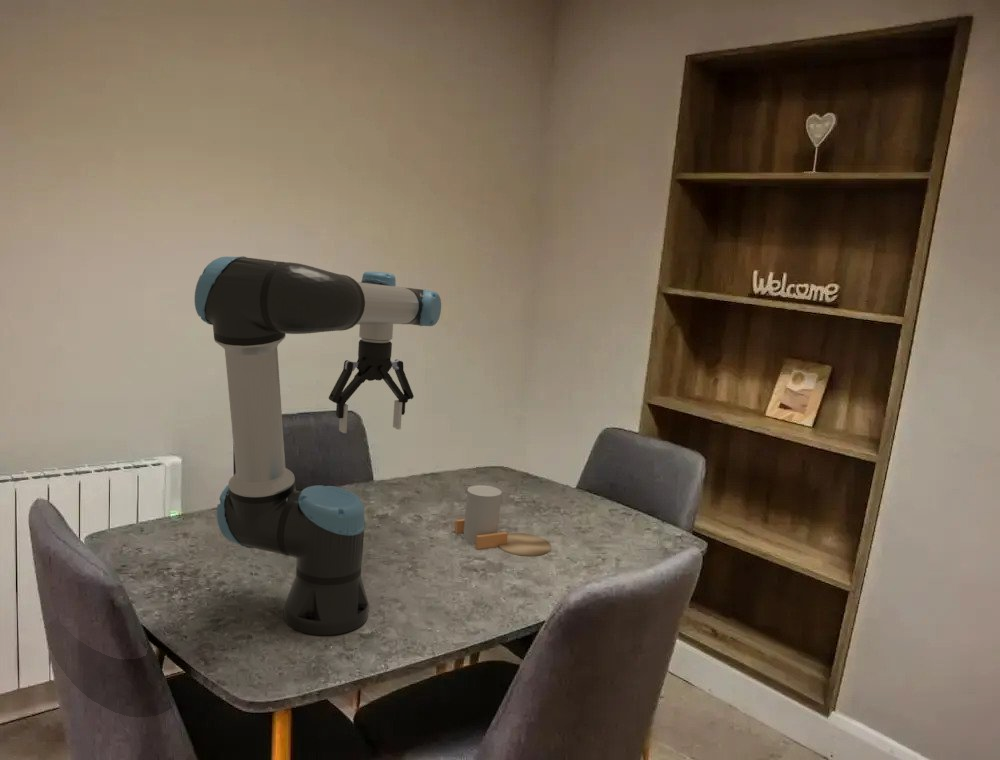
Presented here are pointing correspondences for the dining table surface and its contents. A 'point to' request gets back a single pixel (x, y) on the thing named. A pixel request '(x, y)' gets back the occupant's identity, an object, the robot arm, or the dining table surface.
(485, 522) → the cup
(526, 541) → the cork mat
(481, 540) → the bars
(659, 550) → the dining table surface
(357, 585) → the robot arm
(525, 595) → the dining table surface
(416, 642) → the dining table surface
